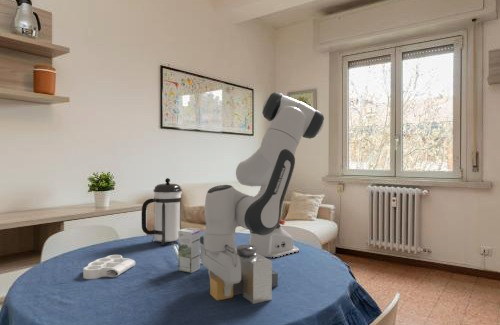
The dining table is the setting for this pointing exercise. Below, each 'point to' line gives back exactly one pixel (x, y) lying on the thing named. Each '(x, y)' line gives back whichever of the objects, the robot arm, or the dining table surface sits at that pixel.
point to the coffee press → (164, 212)
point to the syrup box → (188, 250)
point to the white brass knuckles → (107, 267)
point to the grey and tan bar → (218, 286)
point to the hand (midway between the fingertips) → (220, 289)
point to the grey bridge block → (255, 274)
